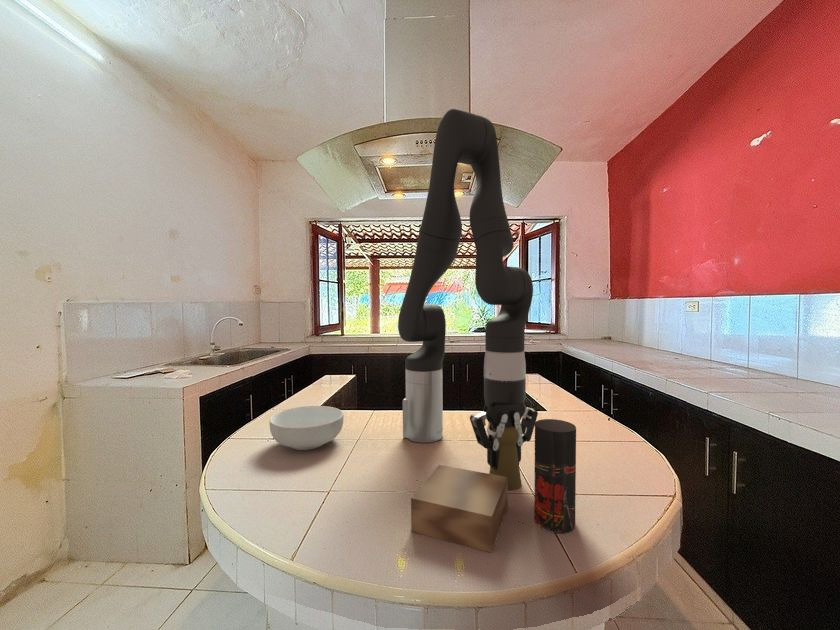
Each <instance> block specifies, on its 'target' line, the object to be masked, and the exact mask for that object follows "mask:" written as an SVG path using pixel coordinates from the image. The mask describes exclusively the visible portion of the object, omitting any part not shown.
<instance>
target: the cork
mask: <svg viewBox="0 0 840 630" xmlns="http://www.w3.org/2000/svg"><path fill="white" fill-rule="evenodd" d="M492 431H494V432H496V431H497V430H496V429H494V428H493V427H492ZM491 438H492V440H493V436H492V435H491ZM518 439H519V432H518V430H517V429H516V428H515V427H513V426H510V427H505V428H504V432H503V433H502V436H501V438H498V441H499V447H498V450H499V461H498V469H497V470H494V469H493V468H491V467H490V466H489V473H488V474H493V475H499V476H504V477H508V492H511V491H516V490H518V489H520V488H521V487H522V478H521V473H520V472H521V470H520V462H518V454H517V447H516V443H517V442H518Z"/></svg>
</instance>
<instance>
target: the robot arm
mask: <svg viewBox="0 0 840 630" xmlns="http://www.w3.org/2000/svg"><path fill="white" fill-rule="evenodd" d="M432 155H433V156H432V161H431V162H432V163H431V170H430V178H429V186H428V191H427V195H426V203H425V207H424V211H423V215H422V219H421V224H420V229H419V233H418V238H417V243H416V249H415V253H414V259H413V264H412V269H411V273H410V277H409V280H408V284H407V287H406V291H405V294H404V297H403V301H402V303H401V307H400V310H399V315H398V322H397V330H398V334H399V336H400V338H401V340H403V341H404V342H409V343H411V342H412V343H414V342H416V343H417V342H418V343H419V342H422V345H421V346H420V348H419V349H418V350H416V351H415V352H413V353H411V354H410V355H408V356H406V358H405V361H404V362H405V364H404V365H405V366H404V367H405V398H403V399H402V438H403V439H404V438H405V439H407V440H409V441H411V442H414V443H423V444H424V443H426V444H427V443H433V442H438V441H440V440H441V439H443V436H444V435H443V431H444V427H443V426H444V424H443V421H444V418H443V417H444V415H443V406H444V405H443V399H444V398H443V362H444V358H445V354H446V353H445V351H446V332H447V331H446V329H447V328H446V327H447V324H446V322H447V321H446V315H445V311H444V310H443V308H442V307H441V306H440V305H439V304H437V303H436V304H435V303H426V300H427V297H428V295H429V293H430V291H431V290H432V288H433V287H434V286H435V284H436V283H437V282H439V280H440V279H441V278H442V277H443V275H444V274H445V273H446V272H447V271H448V270H449V268H450V267H451V266H452V265H453V263H454V262H455V259H456V256H457V253H458V250H459V246H460V241H461V238H462V232H463V224H462V218H461V215H460V211H459V208H458V204H457V199H456V196H455V181H456V174H457V169H458V164H462V165H469V166H470V167H471V168H472V171H473V173H474V176H475V180H476V187H475V192H474V196H473V197H472V198H473V199H472V202H471V205H470V208H469V224H470V230H471V234H472V239H473V242H474V246H475V253H476V254H475V277H474V284H475V289H476V292H477V295H478V296H479V298H480V299H481V300H482V302H484V303H486V304H487V305H490V306H500V309H499V312H498V315H497V316H496V317H493V318H490V319H489V320H487V322H486V324H485V331H484V332H485V336H484V337H485V341H484V342H485V343H484V344H485V349H484V350H485V351H484V352H485V353H484V359H483V361H484V362H483V399H484V407H483V410H482V412H480V413H478V414H470V416H469V421H470V423H471V424H470V425H471V426H472V429H473V433H474V436H475V438H476V441H477V442H476V443H477V444H478V445H480V446H481V447H483V448H484V449H486V451H487V452H486V456H487V457H486V459H487V460H486V462H487V465H488V466H489V468H490V467H491V468H493V469H494V470H497V469H498V461H499V450H498V447H499V441H498V438H501V436H502V433H503V432H504V428H505V427H510V426H513V427H515V428H516V429H517V430H518V432H519V439H518V442H517V443H516V447H517V454H518V462H519V463H520V462H521V460H522V446H523V444H524V443H525V442H530V441H531V439H532V436H533V432H534V430H535V422H536V421H537V418H538V415H539V413H538V411H537V410H535V409H534V408H532V407H528V406H527V407H526V405H525V401H526V393H527V391H526V389H527V388H526V385H527V383H526V382H527V381H526V379H527V374H526V373H527V372H526V371H527V369H526V368H527V364H526V363H527V362H526V357H525V328H526V327H525V326H526V323H527V321H528V318H529V313H530V310H531V305H532V301H533V296H534V284H533V279H532V277H531V274H530V273H529V272H528V271H527V270H526V269H524V268H522V267H519V266H505V265H504V257H506V256H508V255H509V254H510V253H512V251H513V249H514V238H513V235H512V230H511V228H510V223H509V220H508V219H509V218H508V216H507V212H506V208H505V203H504V197H503V191H502V180H501V166H500V158H499V157H500V156H499V143H498V138H497V132H496V128H495V126H494V124H493V122H492V121H491V120H490V119H489V118H486V117H484V116H482V115H479V114H475V113H471V112H468V111H465V110H463V109H460V108H450V109H448V110H447V111H446V112H445V113H444V115H442V117H441V119H440V121H439V124H438V126H437V130H436V135H435V140H434V147H433V154H432ZM486 420H487V423H488V425H487V424H486ZM486 426H487V428H486ZM492 427H493V428H494V429H496V430H497V431H496V432H494V431H492ZM491 435H492V436H493V440H492V438H491Z"/></svg>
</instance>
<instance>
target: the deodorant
mask: <svg viewBox="0 0 840 630" xmlns="http://www.w3.org/2000/svg"><path fill="white" fill-rule="evenodd" d="M576 480H577V427H576V425H575V424H574V423H572V422H568V421H565V420H562V419H557V418H556V419H555V418H544V419H539V420H536V422H535V426H534V498H533V499H534V505H533V508H534V519H533V520H534V522H535V524H536V525H537V526H538V527H539V528H542V529H543V530H545V531H547V532H550V533H554V534H568V533H571V532H573V531H574V530H575V529H576V503H577V502H576V495H577V494H576V491H577V490H576V487H577V486H576V485H577V483H576Z"/></svg>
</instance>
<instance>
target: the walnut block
mask: <svg viewBox="0 0 840 630" xmlns="http://www.w3.org/2000/svg"><path fill="white" fill-rule="evenodd" d="M508 492H509V491H508V477H504V476H499V475H493V474H489V473H488V472H487V473H486V472H482V471H481V472H480V471H476V470H469V469H464V468H459V467H453V466H447V465H442V464H439V465H438V466H437V467H436V468H435V469H434V470H433V472H431V474H430V475H429V476H428V478H427V479H426V480H425V481H424V482H423V483H422V484H421V486H420V487H419V488H418V489H417V490H416V491H415V492H414V493H413V495H412V496H411V498H410V531H411V532H412V533H416V534H420V535H424V536H428V537H432V538H436V539H440V540H443V541H447V542H450V543H454V544H458V545H462V546H466V547H470V548H473V549H475V550H480V551H484V552H488V553H493V550H494V547H495V544H496V542H497V539H498V536H499V533H500V530H501V527H502V525H503V521H504V518H505V516H506V513H507V510H508V506H509V498H508V494H509V493H508Z"/></svg>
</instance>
